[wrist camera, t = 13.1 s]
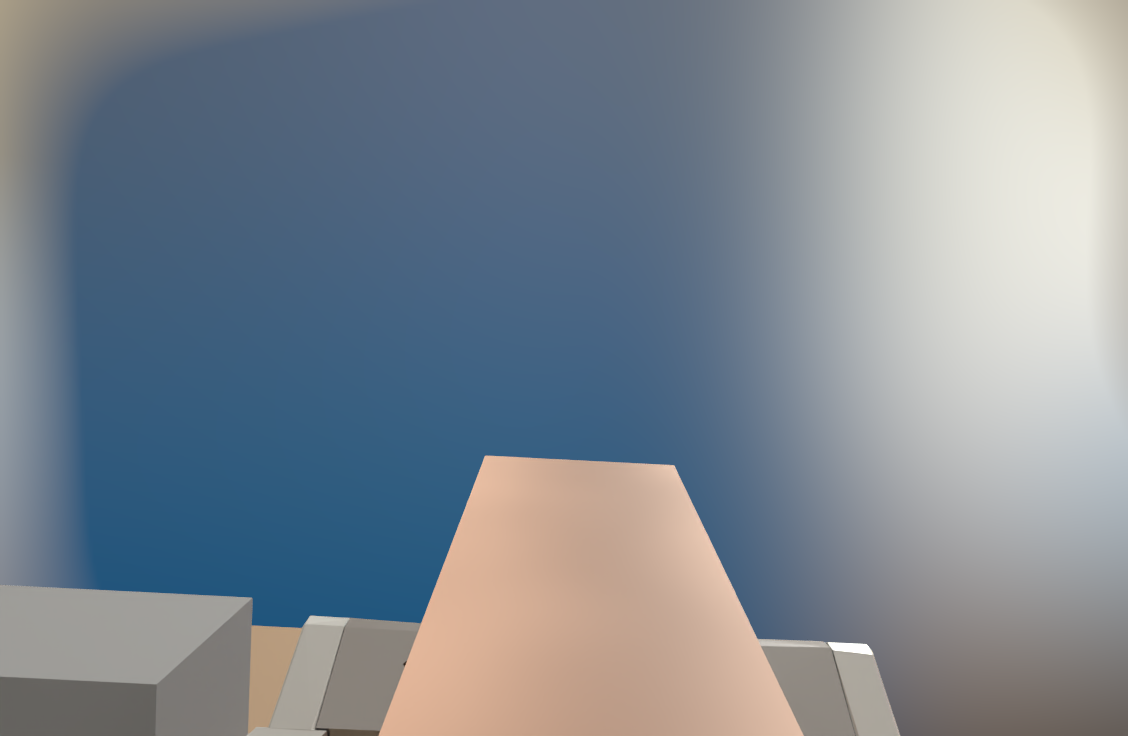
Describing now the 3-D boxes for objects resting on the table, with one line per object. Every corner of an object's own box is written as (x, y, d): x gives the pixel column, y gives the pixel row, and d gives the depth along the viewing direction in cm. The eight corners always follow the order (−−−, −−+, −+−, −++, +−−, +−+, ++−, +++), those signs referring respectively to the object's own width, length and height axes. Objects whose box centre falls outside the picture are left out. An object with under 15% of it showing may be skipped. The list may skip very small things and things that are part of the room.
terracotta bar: (346, 1078, 8) (352, 804, 7) (480, 569, 20) (485, 455, 19) (820, 1101, 8) (848, 829, 7) (666, 578, 20) (674, 465, 19)
